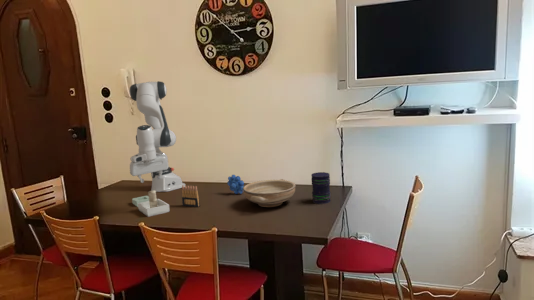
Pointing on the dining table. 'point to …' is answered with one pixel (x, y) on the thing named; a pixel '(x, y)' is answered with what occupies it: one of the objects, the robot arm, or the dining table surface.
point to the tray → (148, 211)
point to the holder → (140, 200)
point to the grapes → (235, 184)
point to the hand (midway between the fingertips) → (151, 180)
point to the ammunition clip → (190, 196)
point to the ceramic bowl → (269, 192)
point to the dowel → (152, 199)
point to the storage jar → (321, 188)
